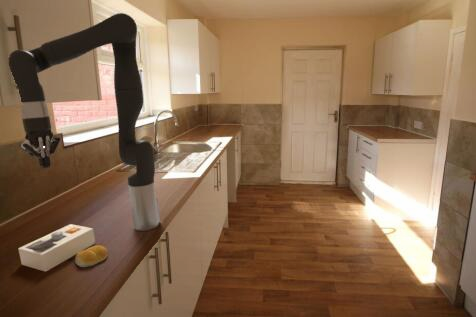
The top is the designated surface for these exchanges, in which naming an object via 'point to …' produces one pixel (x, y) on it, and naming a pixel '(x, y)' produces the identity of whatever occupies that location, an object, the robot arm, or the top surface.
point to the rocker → (41, 244)
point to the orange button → (72, 230)
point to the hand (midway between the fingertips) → (45, 167)
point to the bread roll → (91, 256)
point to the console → (57, 248)
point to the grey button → (57, 236)
